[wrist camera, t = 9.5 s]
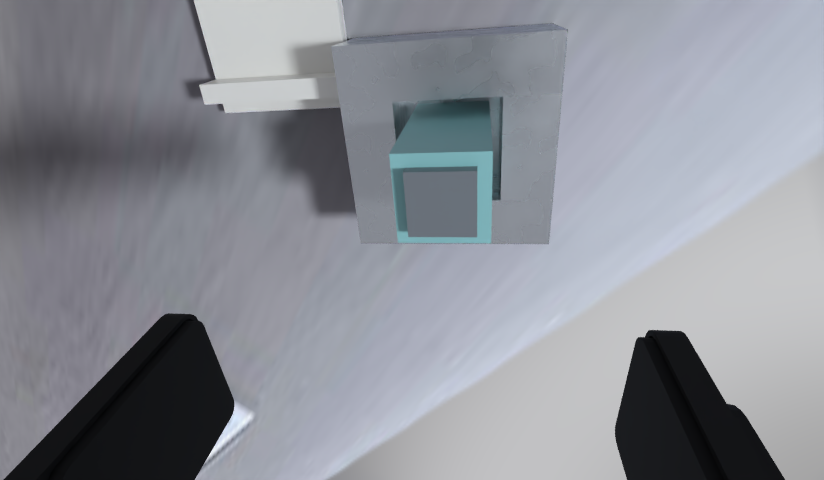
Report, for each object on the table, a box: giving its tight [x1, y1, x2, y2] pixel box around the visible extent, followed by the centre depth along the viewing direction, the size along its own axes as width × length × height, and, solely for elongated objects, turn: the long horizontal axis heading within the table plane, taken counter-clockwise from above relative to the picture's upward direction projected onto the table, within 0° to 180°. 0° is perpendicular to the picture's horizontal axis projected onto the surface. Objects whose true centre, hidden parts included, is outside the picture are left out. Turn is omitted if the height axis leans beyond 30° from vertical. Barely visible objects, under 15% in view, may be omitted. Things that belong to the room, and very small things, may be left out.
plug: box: [389, 101, 493, 243], centre depth 24 cm, size 4×4×11 cm
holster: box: [194, 0, 347, 113], centre depth 26 cm, size 10×9×3 cm
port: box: [331, 23, 568, 244], centre depth 27 cm, size 12×12×6 cm
